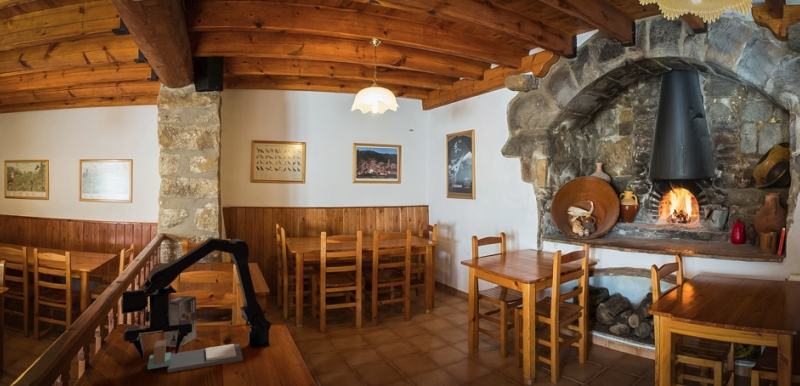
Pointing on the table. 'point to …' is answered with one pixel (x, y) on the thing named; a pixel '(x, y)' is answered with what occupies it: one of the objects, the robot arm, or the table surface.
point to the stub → (159, 356)
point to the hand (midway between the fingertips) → (159, 356)
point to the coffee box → (181, 318)
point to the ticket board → (205, 357)
